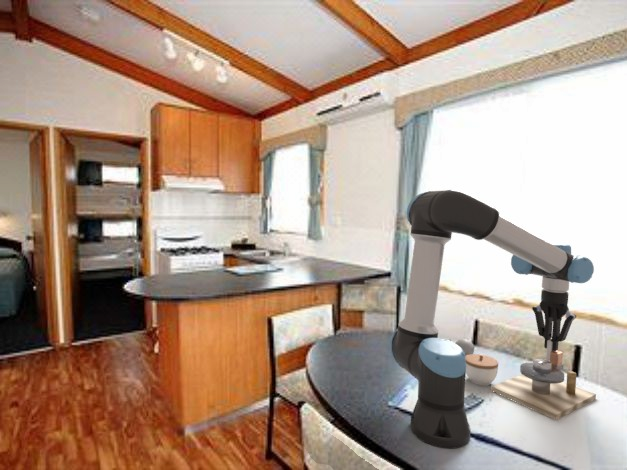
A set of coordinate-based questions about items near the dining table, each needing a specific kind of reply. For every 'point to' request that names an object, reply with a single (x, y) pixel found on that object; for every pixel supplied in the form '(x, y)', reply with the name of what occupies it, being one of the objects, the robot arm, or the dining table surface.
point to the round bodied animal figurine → (465, 346)
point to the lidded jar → (481, 369)
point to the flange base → (545, 394)
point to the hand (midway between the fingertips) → (550, 358)
